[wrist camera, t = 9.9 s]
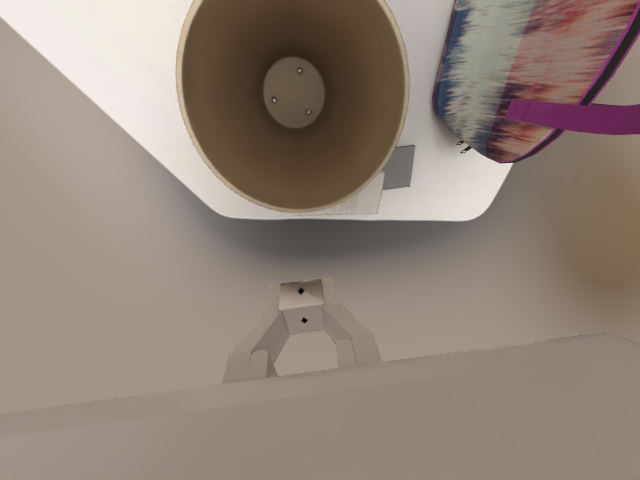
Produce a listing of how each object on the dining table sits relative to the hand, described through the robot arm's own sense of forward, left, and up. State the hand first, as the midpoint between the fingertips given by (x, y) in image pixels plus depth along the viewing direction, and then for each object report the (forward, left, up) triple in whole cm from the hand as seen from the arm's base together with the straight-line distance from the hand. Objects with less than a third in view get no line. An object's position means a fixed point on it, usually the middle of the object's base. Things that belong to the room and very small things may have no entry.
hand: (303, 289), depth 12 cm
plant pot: (-1, -6, -26) cm, 27 cm away
